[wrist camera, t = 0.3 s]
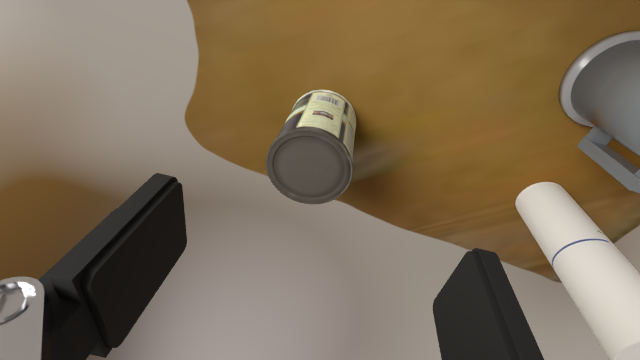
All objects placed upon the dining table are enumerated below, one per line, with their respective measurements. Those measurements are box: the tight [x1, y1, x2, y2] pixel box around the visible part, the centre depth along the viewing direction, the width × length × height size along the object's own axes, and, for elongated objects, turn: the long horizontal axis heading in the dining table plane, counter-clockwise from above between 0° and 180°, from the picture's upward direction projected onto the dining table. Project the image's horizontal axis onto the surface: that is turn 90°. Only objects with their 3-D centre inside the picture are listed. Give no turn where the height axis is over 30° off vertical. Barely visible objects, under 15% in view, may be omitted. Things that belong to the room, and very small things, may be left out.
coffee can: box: [266, 90, 356, 204], centre depth 42 cm, size 10×10×14 cm
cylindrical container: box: [515, 182, 640, 360], centre depth 40 cm, size 7×7×25 cm
